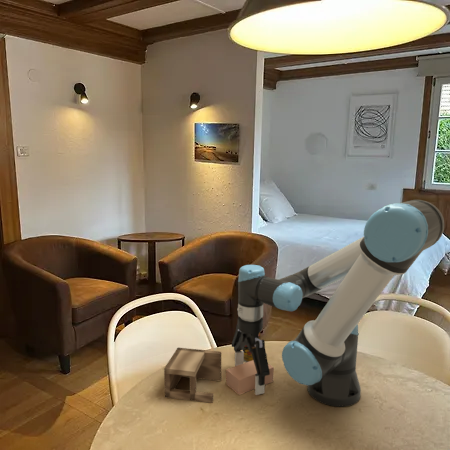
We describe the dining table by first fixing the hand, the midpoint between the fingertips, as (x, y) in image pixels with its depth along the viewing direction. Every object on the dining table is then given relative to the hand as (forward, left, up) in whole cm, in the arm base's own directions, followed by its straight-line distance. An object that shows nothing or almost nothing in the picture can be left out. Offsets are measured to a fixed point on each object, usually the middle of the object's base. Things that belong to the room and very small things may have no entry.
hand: (248, 381), depth 128 cm
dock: (+16, +6, 0) cm, 17 cm away
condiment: (+1, -16, 0) cm, 16 cm away
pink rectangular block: (0, 0, 0) cm, 1 cm away
